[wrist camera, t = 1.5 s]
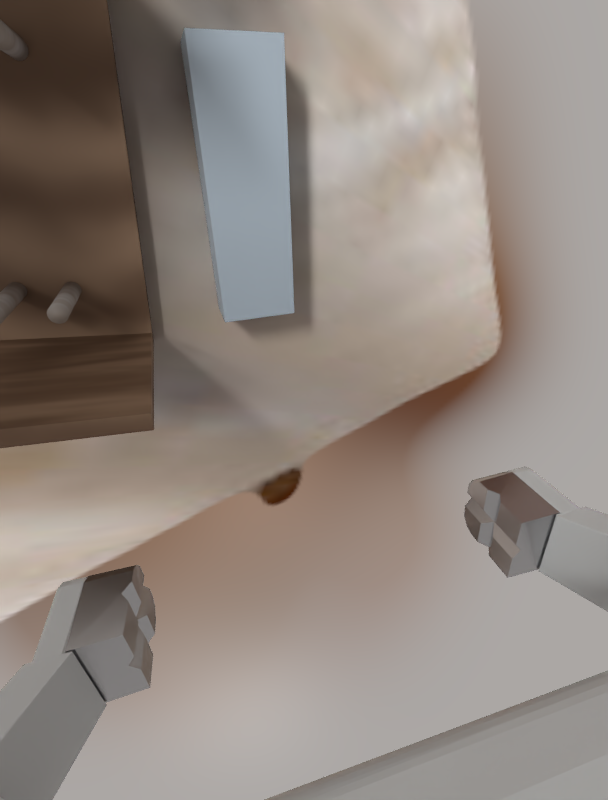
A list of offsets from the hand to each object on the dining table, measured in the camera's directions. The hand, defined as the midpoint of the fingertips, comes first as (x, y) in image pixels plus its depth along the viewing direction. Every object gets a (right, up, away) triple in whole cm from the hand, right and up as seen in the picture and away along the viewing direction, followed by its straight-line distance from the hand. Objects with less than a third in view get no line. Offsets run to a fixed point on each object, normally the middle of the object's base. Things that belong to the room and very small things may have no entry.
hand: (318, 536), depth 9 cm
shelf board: (-5, +20, +22) cm, 30 cm away
